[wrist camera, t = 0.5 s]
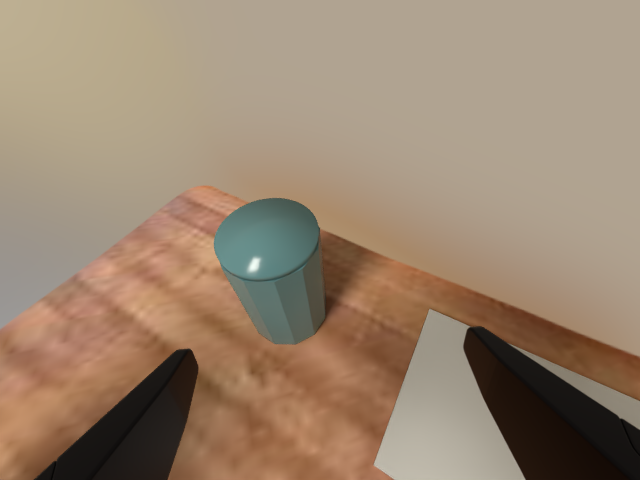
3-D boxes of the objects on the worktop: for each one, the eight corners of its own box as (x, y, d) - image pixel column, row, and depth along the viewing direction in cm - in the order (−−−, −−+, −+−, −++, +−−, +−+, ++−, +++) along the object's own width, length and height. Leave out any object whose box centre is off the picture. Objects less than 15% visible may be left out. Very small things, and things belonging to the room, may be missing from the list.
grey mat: (728, 443, 18) (735, 443, 18) (824, 781, 11) (837, 790, 11) (428, 310, 26) (429, 308, 25) (373, 464, 19) (373, 464, 18)
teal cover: (324, 345, 24) (315, 276, 16) (246, 343, 25) (199, 276, 16) (326, 277, 29) (320, 197, 20) (261, 277, 29) (229, 198, 21)
